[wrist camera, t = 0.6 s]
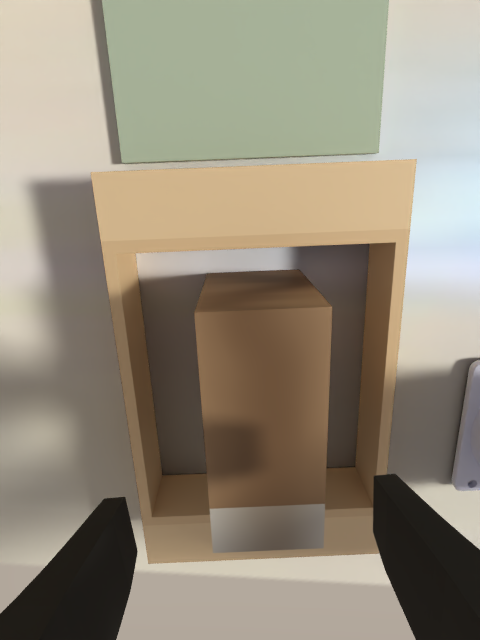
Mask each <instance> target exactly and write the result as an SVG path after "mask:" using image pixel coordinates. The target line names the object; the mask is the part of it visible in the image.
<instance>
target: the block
mask: <svg viewBox="0 0 480 640" xmlns="http://www.w3.org/2000/svg"><path fill="white" fill-rule="evenodd" d="M194 318H195V330H196V343H197V356H198V368H199V381H200V394H201V406H202V419H203V432H204V445H205V457H206V470H207V483H208V495H209V508H210V521H211V533H212V546H213V553H227V552H250V551H272V550H295V549H318V548H324V521H325V493H326V466H327V439H328V411H329V384H330V357H331V329H332V306H331V305H330V304H329V303H328V301H327V300H326V299H325V298H324V297H323V296H322V295H321V294H320V292H319V291H318V290H317V289H316V288H315V287H314V286H313V285H312V283H311V282H310V281H309V280H308V279H307V278H306V277H305V276H304V274H303V273H302V272H301V271H300V270H276V271H252V272H228V273H207V276H206V279H205V282H204V285H203V288H202V291H201V294H200V297H199V300H198V303H197V305H196V308H195V311H194Z"/></svg>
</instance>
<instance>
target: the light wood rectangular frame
mask: <svg viewBox="0 0 480 640" xmlns="http://www.w3.org/2000/svg"><path fill="white" fill-rule="evenodd" d="M416 161H417V159H410V160H385V161H360V162H336V163H311V164H286V165H261V166H236V167H212V168H187V169H162V170H137V171H112V172H91V179H92V185H93V192H94V199H95V206H96V213H97V219H98V226H99V233H100V240H101V246H102V253H103V260H104V267H105V273H106V280H107V287H108V294H109V300H110V307H111V314H112V321H113V327H114V334H115V341H116V348H117V354H118V361H119V368H120V375H121V382H122V388H123V395H124V402H125V409H126V415H127V422H128V429H129V436H130V442H131V449H132V456H133V463H134V469H135V476H136V483H137V490H138V496H139V503H140V510H141V517H142V523H143V530H144V537H145V544H146V551H147V557H148V564H153V563H176V562H198V561H221V560H243V559H265V558H288V557H310V556H333V555H355V554H378V553H379V550H378V546H377V543H376V540H375V537H374V534H373V486H374V476H376V475H387V466H388V455H389V445H390V434H391V424H392V413H393V403H394V392H395V382H396V371H397V360H398V350H399V339H400V329H401V318H402V308H403V297H404V287H405V276H406V266H407V255H408V245H409V234H410V224H411V213H412V203H413V192H414V182H415V171H416ZM367 243H370V245H369V261H368V276H367V292H366V308H365V323H364V339H363V354H362V370H361V385H360V401H359V417H358V432H357V448H356V463H355V467H346V468H326V493H325V521H324V548H318V549H295V550H272V551H250V552H227V553H213V546H212V533H211V521H210V508H209V495H208V483H207V474H186V475H163V476H162V468H161V460H160V452H159V444H158V435H157V427H156V419H155V411H154V403H153V394H152V386H151V378H150V370H149V361H148V353H147V345H146V337H145V329H144V320H143V312H142V304H141V296H140V288H139V279H138V271H137V263H136V255H135V253H148V252H173V251H197V250H221V249H246V248H270V247H294V246H318V245H343V244H367Z"/></svg>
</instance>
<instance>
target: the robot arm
mask: <svg viewBox="0 0 480 640" xmlns="http://www.w3.org/2000/svg"><path fill="white" fill-rule="evenodd" d="M451 481H452V484H453V486H454V487H455V488H456V489H457V490H459V491H473V490H480V360H477V361H475V362H473V363H472V364H471V365H470V368H469V373H468V379H467V386H466V392H465V398H464V405H463V411H462V417H461V423H460V430H459V436H458V442H457V449H456V455H455V461H454V468H453V474H452V480H451ZM470 481H471V482H470ZM373 534H374V537H375V540H376V543H377V546H378V550H379V553H380V556H381V559H382V562H383V565H384V568H385V571H386V573H387V575H388V578H389V580H390V582H391V584H392V587H393V589H394V591H395V593H396V596H397V598H398V600H399V603H400V605H401V607H402V609H403V612H404V614H405V616H406V618H407V620H408V623H409V625H410V627H411V630H412V631H413V634H414V636H415V638H416V640H480V550H479V549H478V548H477V547H476V546H475V545H473V544H472V543H471V542H470V541H469V540H467V539H466V538H465V537H464V536H463V535H462V534H460V533H459V532H458V531H457V530H456V529H455V528H454V527H452V526H451V525H450V524H449V523H448V522H447V521H446V520H444V519H443V518H442V517H441V516H440V515H439V514H438V513H437V512H435V511H434V510H433V509H432V508H431V507H430V506H429V505H428V504H427V503H426V502H425V501H424V500H423V499H421V498H420V497H419V496H418V495H417V494H416V493H415V492H414V491H413V490H412V489H411V488H410V487H409V486H408V485H407V484H406V483H405V482H403V481H402V480H401V479H400V478H399V477H398V476H397V475H396V474H387V475H376V476H374V486H373ZM136 557H137V547H136V542H135V538H134V534H133V529H132V525H131V521H130V516H129V512H128V508H127V503H126V499H125V497H118V498H107V499H104V500H103V501H102V502H101V503H100V504H99V505H98V507H97V508H96V509H95V510H94V511H93V512H92V514H91V515H90V516H89V517H88V518H87V519H86V521H85V522H84V523H83V524H82V525H81V527H80V528H79V529H78V530H77V531H76V532H75V534H74V535H73V536H72V537H71V538H70V540H69V541H68V542H67V543H66V544H65V545H64V546H63V548H62V549H61V550H60V551H59V552H58V553H57V554H56V556H55V557H54V558H53V559H52V560H51V561H50V562H49V563H48V565H47V566H46V567H45V568H44V569H43V570H42V571H41V572H40V574H38V576H37V577H36V578H35V579H34V580H33V581H32V582H31V583H30V584H29V585H28V586H27V587H26V588H25V589H24V590H23V591H22V592H21V593H20V595H19V596H18V597H17V598H16V599H15V600H14V601H13V602H12V603H11V604H10V605H9V606H8V607H7V608H6V609H5V610H4V611H3V612H2V613H1V614H0V640H116V638H117V635H118V632H119V628H120V625H121V622H122V618H123V615H124V611H125V608H126V604H127V601H128V597H129V594H130V589H131V585H132V580H133V574H134V569H135V563H136Z"/></svg>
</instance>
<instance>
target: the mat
mask: <svg viewBox="0 0 480 640" xmlns="http://www.w3.org/2000/svg"><path fill="white" fill-rule="evenodd" d="M388 5H389V0H102V6H103V14H104V22H105V30H106V38H107V47H108V55H109V63H110V71H111V79H112V87H113V95H114V103H115V111H116V119H117V127H118V136H119V144H120V152H121V160H122V163H124V164H129V163H153V162H178V161H203V160H228V159H253V158H278V157H303V156H327V155H352V154H376V153H379V140H380V125H381V110H382V95H383V80H384V65H385V50H386V35H387V20H388Z"/></svg>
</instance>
